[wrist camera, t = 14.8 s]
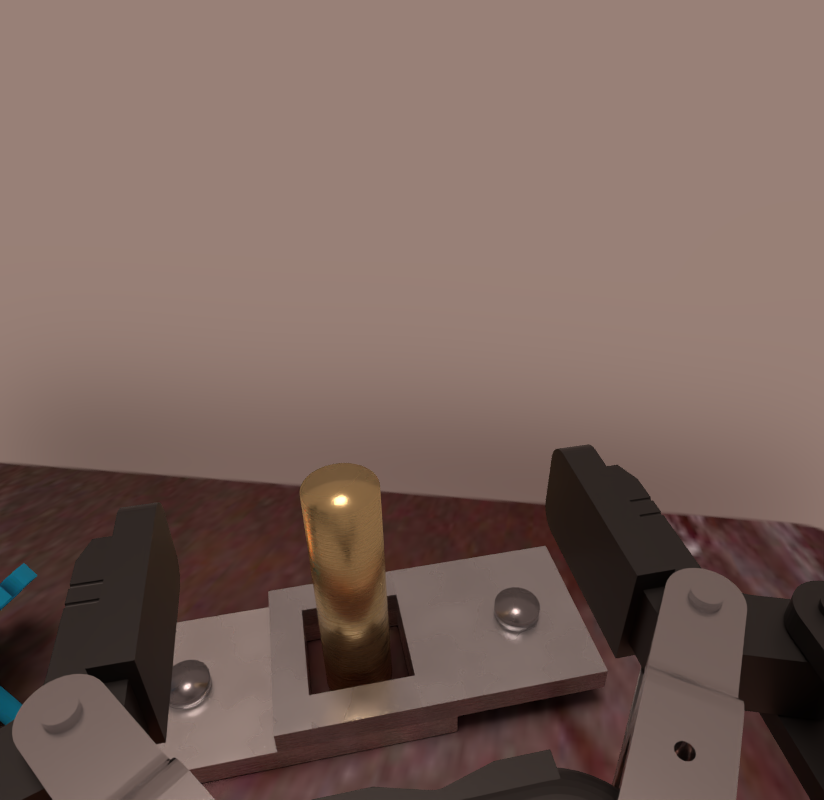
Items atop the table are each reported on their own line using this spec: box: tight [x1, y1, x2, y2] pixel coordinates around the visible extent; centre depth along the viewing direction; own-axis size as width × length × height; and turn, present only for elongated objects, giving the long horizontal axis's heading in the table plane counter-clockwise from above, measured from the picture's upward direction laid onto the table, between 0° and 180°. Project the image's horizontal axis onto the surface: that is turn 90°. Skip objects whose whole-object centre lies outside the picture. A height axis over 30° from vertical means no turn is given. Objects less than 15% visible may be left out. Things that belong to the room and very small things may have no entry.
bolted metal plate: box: [156, 546, 608, 783], centre depth 34 cm, size 22×8×3 cm, turn 101°
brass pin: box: [300, 463, 392, 691], centre depth 31 cm, size 3×3×12 cm
